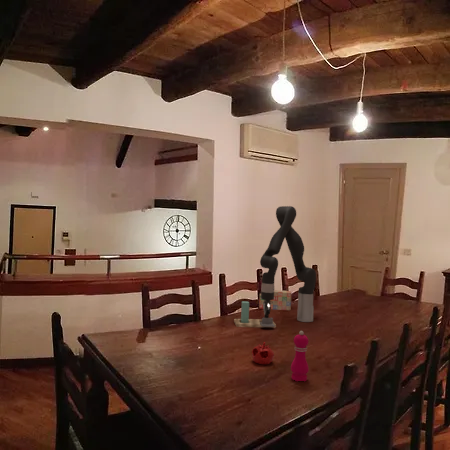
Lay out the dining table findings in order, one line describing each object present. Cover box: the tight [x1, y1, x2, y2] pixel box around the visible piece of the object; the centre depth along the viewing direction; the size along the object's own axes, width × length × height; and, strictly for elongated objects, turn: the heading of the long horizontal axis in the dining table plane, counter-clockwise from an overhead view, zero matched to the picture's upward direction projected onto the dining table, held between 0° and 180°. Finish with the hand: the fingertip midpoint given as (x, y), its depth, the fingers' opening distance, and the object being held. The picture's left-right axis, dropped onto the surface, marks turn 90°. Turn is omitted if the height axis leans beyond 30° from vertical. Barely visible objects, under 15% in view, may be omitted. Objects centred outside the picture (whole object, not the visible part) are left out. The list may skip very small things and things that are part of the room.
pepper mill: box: [290, 330, 309, 382], centre depth 183 cm, size 7×7×20 cm
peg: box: [240, 300, 250, 323], centre depth 262 cm, size 4×4×13 cm
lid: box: [260, 317, 275, 328], centre depth 256 cm, size 7×7×4 cm
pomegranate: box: [251, 341, 275, 365], centre depth 201 cm, size 10×10×9 cm
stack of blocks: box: [258, 289, 292, 311], centre depth 309 cm, size 21×6×12 cm, turn 88°
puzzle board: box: [233, 318, 277, 329], centre depth 263 cm, size 23×12×2 cm, turn 95°
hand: (266, 320), depth 258 cm, fingers closed
